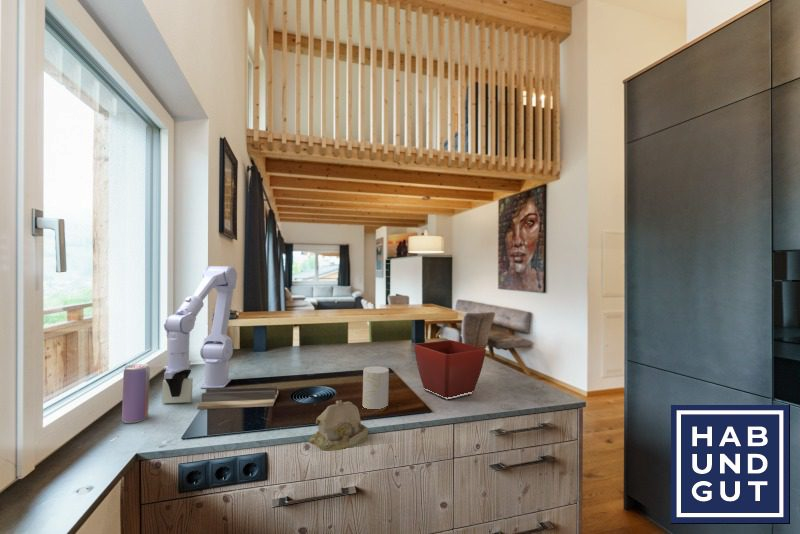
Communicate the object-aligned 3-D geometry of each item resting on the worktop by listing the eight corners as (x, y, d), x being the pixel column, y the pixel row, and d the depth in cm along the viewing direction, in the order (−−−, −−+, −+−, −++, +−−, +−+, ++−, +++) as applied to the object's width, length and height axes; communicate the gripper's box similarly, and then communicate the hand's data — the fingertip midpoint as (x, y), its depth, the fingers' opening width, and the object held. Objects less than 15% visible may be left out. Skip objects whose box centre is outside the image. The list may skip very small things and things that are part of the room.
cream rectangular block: (164, 401, 114) (165, 379, 114) (192, 400, 115) (192, 378, 115) (161, 403, 112) (162, 380, 112) (189, 402, 114) (190, 379, 114)
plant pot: (486, 396, 127) (487, 348, 128) (446, 406, 117) (447, 354, 117) (450, 381, 143) (451, 339, 144) (411, 389, 132) (412, 344, 133)
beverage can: (134, 425, 97) (136, 369, 97) (116, 422, 98) (118, 367, 99) (153, 416, 103) (155, 364, 103) (136, 414, 104) (138, 362, 104)
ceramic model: (319, 456, 83) (321, 412, 84) (304, 437, 93) (306, 398, 93) (373, 442, 91) (374, 402, 91) (354, 425, 100) (355, 389, 101)
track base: (210, 395, 121) (210, 385, 121) (278, 393, 125) (278, 383, 125) (197, 409, 109) (197, 397, 109) (272, 406, 113) (273, 394, 113)
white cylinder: (357, 407, 114) (358, 369, 114) (375, 401, 120) (376, 365, 120) (374, 414, 108) (375, 374, 109) (393, 407, 114) (394, 369, 114)
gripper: (174, 347, 120) (173, 388, 120) (153, 357, 106) (151, 404, 106) (197, 347, 122) (196, 387, 121) (179, 357, 107) (178, 403, 107)
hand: (177, 395), depth 114 cm, fingers closed on cream rectangular block, 2 cm apart
